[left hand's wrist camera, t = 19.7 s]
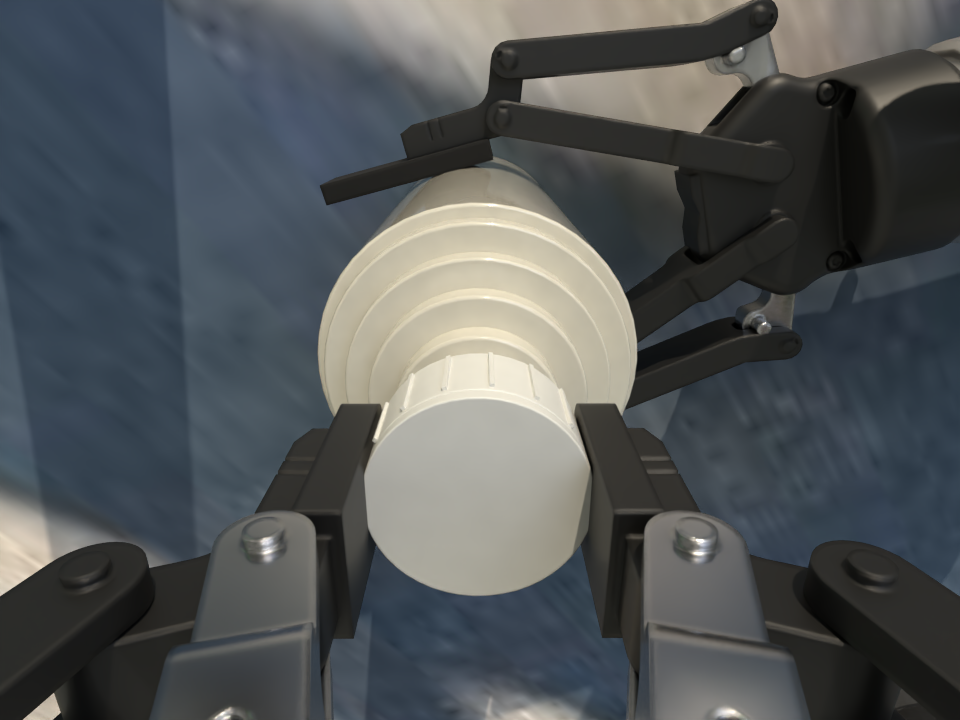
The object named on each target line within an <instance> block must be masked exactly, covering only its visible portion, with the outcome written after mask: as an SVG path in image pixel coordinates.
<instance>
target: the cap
mask: <svg viewBox="0 0 960 720" xmlns="http://www.w3.org/2000/svg"><path fill="white" fill-rule="evenodd" d="M372 442H374V444H373V448H372V451H371V454H370V457H369V460H368V463H367V466H366V469H365V473H364V481H365V495H366V508H367V520H368V530H369V532H370V534H371V537H372V538H373V540H374V541H375V543H376V545H377V546H378V548H379V549H380V550H381V552H382V553H383V554H384V555H385V557H386V558H387V559H388V560H389V561H390V562H391V563H392V564H393V565H394V566H396V567H397V568H398V569H399V570H401V571H402V572H403V573H405V574H406V575H408V576H409V577H411V578H413V579H414V580H416V581H418V582H420V583H422V584H424V585H427V586H429V587H431V588H434V589H438V590H441V591H444V592H449V593H454V594H459V595H469V596H489V595H497V594H504V593H508V592H513V591H517V590H519V589H522V588H525V587H528V586H530V585H533V584H535V583H537V582H539V581H541V580H543V579H544V578H546V577H548V576H549V575H551V574H552V573H554V572H555V571H556V570H557V569H559V568H560V567H561V566H562V565H564V564H565V563H566V562H567V561H568V560H569V559H570V557H571V556H572V555H573V554H574V553H575V552H576V550H577V549H578V547H579V546H580V545H581V543H582V541H583V539H584V538H585V536H586V534H587V532H588V526H589V513H590V500H591V486H592V471H591V467H590V464H589V461H588V457H587V454H586V451H585V448H584V445H583V441H582V438H581V435H580V432H579V429H578V425H577V422H576V419H575V416H574V414H573V411H572V409H571V407H570V405H569V403H568V401H567V399H566V396H565V393H564V390H563V389H562V388H561V389H558V387H557V386H556V385H555V384H554V383H553V382H552V381H551V380H550V379H548V378H547V377H546V376H545V375H544V374H542V373H541V372H539V371H538V370H536V369H535V368H534V366H533V365H532V364H530V363H529V365H527V364H525V363H523V362H521V361H518V360H515V359H512V358H509V357H505V356H500V355H495V354H493V352H488V354H485V353H474V354H463V355H456V356H452V357H451V356H450V355H449V356H446V358H445V359H442V360H439V361H437V362H434V363H432V364H430V365H428V366H426V367H424V368H423V369H421V370H419V371H418V372H416V373H415V374H413V373H411V374H410V375H409V377H408V379H407V380H406V381H405V382H404V383H403V384H402V385H401V386H400V387H399V389H398V390H397V391H396V393H395V394H394V395H393V397H392V398H391V400H390V402H389V403H388V402H385V404H384V407H383V410H382V413H381V416H380V419H379V422H378V425H377V428H376V431H375V434H374V437H373V440H372Z"/></svg>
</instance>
